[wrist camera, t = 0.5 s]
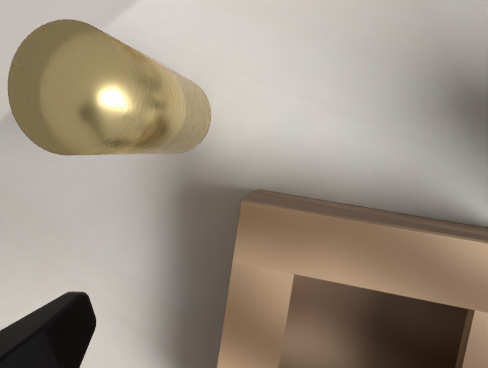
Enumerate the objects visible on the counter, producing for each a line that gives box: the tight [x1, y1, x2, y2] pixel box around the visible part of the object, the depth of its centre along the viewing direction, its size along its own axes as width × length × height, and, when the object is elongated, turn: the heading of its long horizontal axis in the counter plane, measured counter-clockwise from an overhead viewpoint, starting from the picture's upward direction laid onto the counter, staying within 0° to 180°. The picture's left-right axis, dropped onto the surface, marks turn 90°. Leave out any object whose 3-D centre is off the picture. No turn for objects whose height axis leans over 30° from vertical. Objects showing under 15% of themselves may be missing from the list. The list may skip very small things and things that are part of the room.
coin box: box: [217, 190, 488, 368], centre depth 19 cm, size 13×13×5 cm
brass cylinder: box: [8, 20, 211, 155], centre depth 18 cm, size 4×4×10 cm
